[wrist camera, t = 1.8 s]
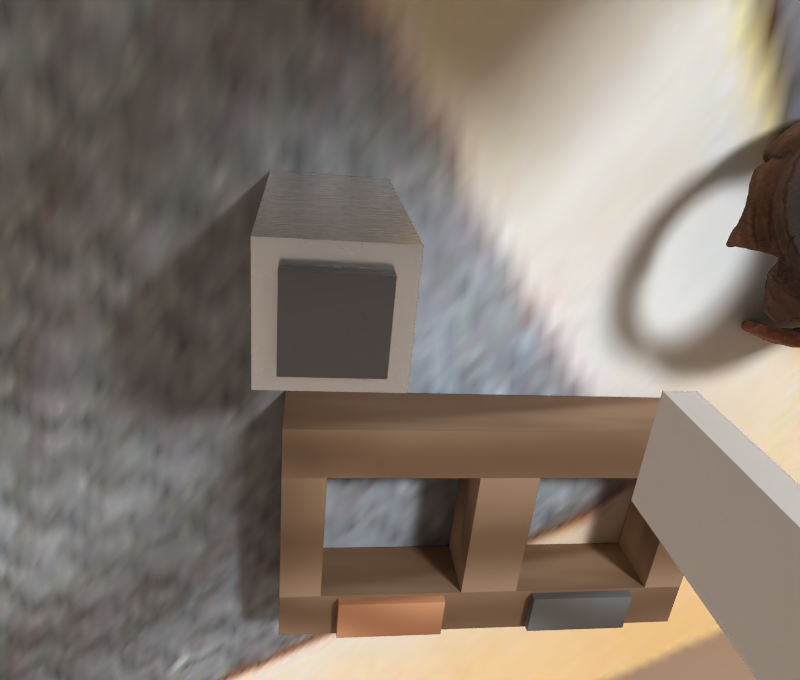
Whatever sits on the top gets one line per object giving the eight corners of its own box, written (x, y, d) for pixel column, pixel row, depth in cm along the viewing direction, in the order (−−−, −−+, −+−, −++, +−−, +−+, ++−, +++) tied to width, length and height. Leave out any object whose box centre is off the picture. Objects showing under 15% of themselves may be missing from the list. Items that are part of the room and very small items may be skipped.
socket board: (285, 390, 28) (282, 435, 25) (696, 398, 31) (739, 439, 28) (281, 584, 33) (278, 642, 29) (640, 576, 35) (671, 628, 32)
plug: (270, 170, 24) (249, 242, 16) (389, 178, 25) (426, 251, 17) (269, 283, 26) (249, 399, 18) (380, 288, 27) (409, 401, 18)
